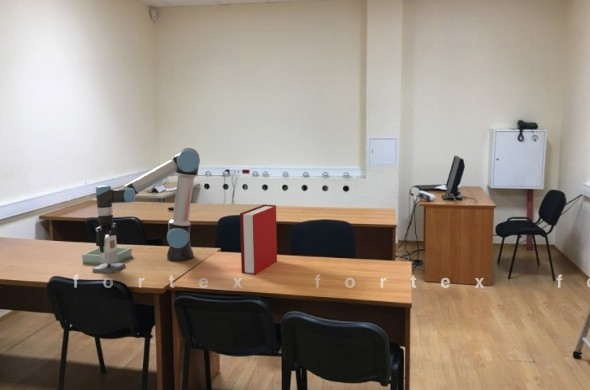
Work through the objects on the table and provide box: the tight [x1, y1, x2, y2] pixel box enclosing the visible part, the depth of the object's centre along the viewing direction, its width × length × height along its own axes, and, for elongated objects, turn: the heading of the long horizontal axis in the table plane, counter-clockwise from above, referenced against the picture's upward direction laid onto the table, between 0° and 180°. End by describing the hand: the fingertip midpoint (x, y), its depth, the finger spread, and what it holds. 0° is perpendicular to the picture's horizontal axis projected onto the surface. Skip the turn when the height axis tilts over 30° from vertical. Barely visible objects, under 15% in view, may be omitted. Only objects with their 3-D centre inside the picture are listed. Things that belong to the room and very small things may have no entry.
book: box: [239, 204, 278, 276], centre depth 269 cm, size 27×8×32 cm, turn 156°
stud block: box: [92, 262, 126, 274], centre depth 270 cm, size 12×12×7 cm
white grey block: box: [98, 234, 118, 264], centre depth 268 cm, size 6×7×14 cm
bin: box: [81, 246, 133, 265], centre depth 288 cm, size 20×18×5 cm
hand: (108, 256), depth 269 cm, fingers closed on white grey block, 6 cm apart
